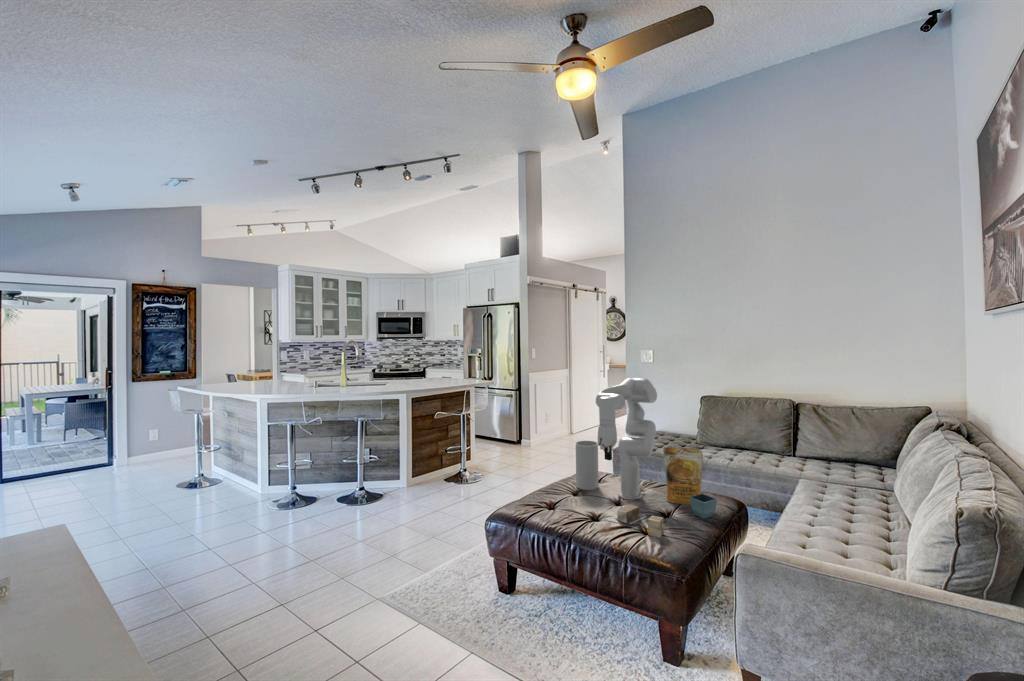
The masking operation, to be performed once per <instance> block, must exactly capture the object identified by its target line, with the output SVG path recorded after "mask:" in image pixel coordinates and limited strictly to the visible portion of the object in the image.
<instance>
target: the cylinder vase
mask: <svg viewBox="0 0 1024 681" xmlns="http://www.w3.org/2000/svg"><path fill="white" fill-rule="evenodd" d="M575 481H576V482H575V483H576V484H575V486H576V487H577V489H579V490H583V491H593V490H597V489H598V488H599V487H600V486H599V483H600V482H599V446H598V441H594V440H580V441H579V440H578V441H576V442H575Z"/></svg>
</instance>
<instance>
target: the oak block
mask: <svg viewBox="0 0 1024 681" xmlns="http://www.w3.org/2000/svg"><path fill="white" fill-rule="evenodd" d="M647 520H648V521H647V527H648V531H647V532H648V533H647V534H648V536H651V537H656V538H661V537H662V536H664V517H661V516H656V515H651V516H650V517H649V518H648V519H647Z"/></svg>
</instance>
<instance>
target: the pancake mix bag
mask: <svg viewBox="0 0 1024 681" xmlns="http://www.w3.org/2000/svg"><path fill="white" fill-rule="evenodd" d="M662 450H663V461H664V472H665V477H666V479H665V481H666V488H667V489H666V490H667V491H666V492H667V493H666V502H669V503H671V504H677V505H685V506H686V505H687V506H691V501H690V497H691V496H695V495H699V494H701V490H702V480H703V479H702V478H703V457H704V456H703V450H700V448H690V447H689V448H688V447H687V448H686V447H671V446H670V447H669V446H667V447H663V449H662Z"/></svg>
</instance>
